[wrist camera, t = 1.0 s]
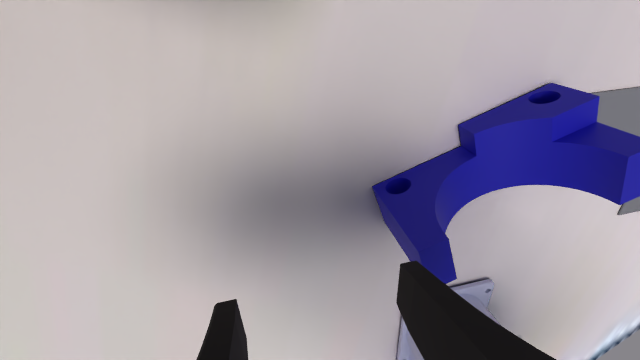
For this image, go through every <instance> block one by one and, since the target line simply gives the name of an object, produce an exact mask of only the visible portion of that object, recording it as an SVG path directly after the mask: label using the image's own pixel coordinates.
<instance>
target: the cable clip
mask: <svg viewBox="0 0 640 360" xmlns="http://www.w3.org/2000/svg"><path fill="white" fill-rule="evenodd" d="M599 98H600V96H597V95H594V94H590V93H586V92H583V91H579V90H576V89H572V88H568V87H565V86H561V85H557V84H554V83H550V84H548V85H545V86H543V87H541V88H539V89H537V90H534V91H532V92H530V93H528V94H525V95H523V96H521V97H519V98H517V99H514V100H512V101H510V102H508V103H506V104H503V105H501V106H499V107H497V108H495V109H492V110H490V111H488V112H486V113H483V114H481V115H479V116H477V117H475V118H472V119H470V120H468V121H466V122H464V123H461V124H459V125H458V127H459V134H460V141H461V146H460V147H458V148H456V149H454V150H451V151H449V152H447V153H445V154H443V155H440V156H438V157H436V158H434V159H432V160H429V161H427V162H425V163H423V164H421V165H418V166H416V167H414V168H412V169H409V170H407V171H405V172H403V173H401V174H398V175H396V176H394V177H392V178H390V179H387V180H385V181H383V182H381V183H379V184H376V185H374V186H372V188H373V191H374V193H375V196H376V199H377V202H378V205H379V208H380V211H381V213H382V216H383V219H384V222H385V223H386V225H387V226H388V228H389V229H390V231H391V232H392V234H393V235H394V237H395V238H396V240H397V242H398V243H399V245H400V246H401V248H402V249H403V251H404V252H405V254H406V255H407V257H408V258H409V260H410V261H418V262H419V263H420V264H421V265H423V266H424V267H425V268H426V269H427V270H429V271H430V272H431V273H432V274H434V275H435V276H436V277H437V278H438V279H440V280H441V281H442V282H443V283H445V284H446V283H449V282H451V281H453V280H455V279H457V277H456V272H455V268H454V263H453V258H452V253H451V249H450V244H449V239H448V237H447V236H446V235H445V232H446V229H447V226H448V224H449V223H450V221H451V219H452V218H453V216H454V215H455V214H456V213H457V212H458V211H459V210H460V209H461V208H462V207H463V206H464V205H466V204H467V203H469V202H470V201H472V200H474V199H475V198H477V197H479V196H481V195H484V194H486V193H489V192H492V191H495V190H498V189H502V188H507V187H513V186H521V185H553V186H562V187H568V188H573V189H578V190H582V191H585V192H589V193H592V194H595V195H598V196H601V197H603V198H605V199H608V200H610V201H612V202H614V203H616V204H618V205H621V204H624V203H626V202H628V201H630V200H633V199H635V198H637V197H639V196H640V137H639V136H636V135H633V134H630V133H628V132H625V131H622V130H619V129H616V128H613V127H610V126H608V125H605V124H602V123H599V122H597V116H598V107H599Z"/></svg>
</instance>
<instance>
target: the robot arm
mask: <svg viewBox="0 0 640 360" xmlns="http://www.w3.org/2000/svg"><path fill="white" fill-rule="evenodd" d="M493 288H494V282H493V281H492V280H490V279H487V280H483V281H478V282H474V283H470V284H466V285H461V286H457V287H453V288H450V287H448V286H447V285H446V284H445V283H443V282H442V281H441V280H440V279H438V278H437V277H436V276H435V275H434V274H432V273H431V272H430V271H429V270H427V269H426V268H425V267H424V266H423V265H421V264H420V263H419V262H418V261H411V262H407V263H402V264H400V273H399V283H398V293H397V302H396V303H397V305H398V308H399V310H400V313H401V315H402V320H401V328H400V336H399V345H398V353H397V360H556V359H554V358H552V357H551V356H549V355H547V354H545V353H544V352H542V351H540V350H539V349H537V348H535V347H534V346H532V345H530V344H529V343H527V342H526V341H524V340H522V339H521V338H519V337H517V336H516V335H514V334H513V333H511V332H510V331H508V330H507V329H505V328H504V327H502V326H501V325H500V324H499V323H498V322H497V320H496V319H495V318H494V317H493V315H492V314H491V313H490V312H489V310H488V309H487V307H488V303H489V300H490V297H491V294H492V291H493ZM197 360H248V351H247V338H246V334H245V330H244V327H243V323H242V319H241V315H240V311H239V308H238V304H237V300H236V299H234V300H230V301H225V302H220V303H217V304H216V305H215V306H214V310H213V314H212V317H211V320H210V324H209V327H208V330H207V333H206V336H205V339H204V341H203V344H202V347H201V350H200V352H199V355H198V357H197Z"/></svg>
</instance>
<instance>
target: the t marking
mask: <svg viewBox="0 0 640 360" xmlns="http://www.w3.org/2000/svg"><path fill="white" fill-rule="evenodd" d="M590 94H594V95H597V96H600V98H599V107H598V116H597V122H599V123H602V124H605V125H608V126H610V127H613V128H616V129H619V130H622V131H625V132H628V133H630V134H633V135H636V136H639V137H640V87H634V88H626V89H619V90H611V91H604V92H596V93H590ZM636 211H640V196H639V197H637V198H635V199H633V200H630V201H628V202H626V203H624V204H623V205H622V207H621V209H620V211H619V213H618V215H622V214H627V213H632V212H636Z"/></svg>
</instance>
